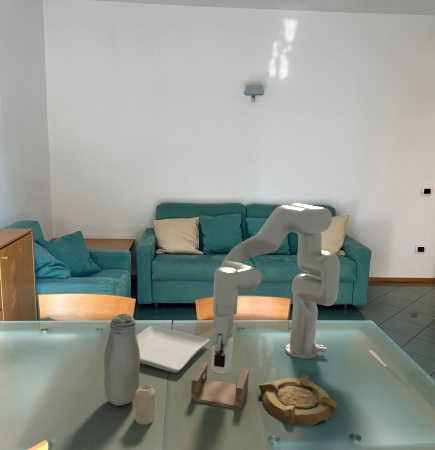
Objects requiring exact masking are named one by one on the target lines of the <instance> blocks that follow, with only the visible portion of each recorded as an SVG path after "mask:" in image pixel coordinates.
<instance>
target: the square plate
mask: <svg viewBox="0 0 435 450" xmlns="http://www.w3.org/2000/svg"><path fill="white" fill-rule="evenodd" d="M136 338H137V342H138V346H139V350H140V364H143V365H146V366H151V367H153V368H156V369H159V370H161V371H162V370H163V371H167V372H171V373H174V374H175V373H178V372H180V371H181V370H182V369H183V368H184V367H185V366H186V365H187V363H189V362H190V360H191V359H192V358H193V357H194V356H196V355H197V354H198V352H200V351H201V350H202V349H203V348H204V347H205V346H206V345H207V344H208V343H209V342H210V339H209V338H207V337H202V336H199V335H195V334H192V333H191V334H190V333H187V332H182V331H178V330H173V329H169V328H165V327H160V326H159V327H158V326H156V325H149V326H148V327H147V328H144V329H143V330H142V331H140V332H139V333H137V334H136Z"/></svg>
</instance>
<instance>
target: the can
mask: <svg viewBox="0 0 435 450" xmlns="http://www.w3.org/2000/svg"><path fill="white" fill-rule="evenodd" d="M221 345H224V343H221ZM233 346H234V337H233V333H232V334H231V336H230V337H229V341H228V345H227V346H226V347H225V352H224V355H225V366H224V367H217V366H214V357H215V348H216V343H215V345H212V344H211V347H212V348H211V359H210V360H211V361H210V362H211V363H210V370H211V371H212V372H213V373H214V374H217V375H226V374H229V373H230V372H231V371H232V365H233ZM221 349H223V347H221Z"/></svg>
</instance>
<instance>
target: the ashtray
mask: <svg viewBox="0 0 435 450" xmlns="http://www.w3.org/2000/svg"><path fill="white" fill-rule="evenodd" d="M309 377H310V376H309V375H308V374H306V373H302V374H301V377H300V378H295V377H286V378H280V379H277V380H275V381H273V382H267V383H261V384H259V385H258V388H259V390H260V391H259V392H260V395H259V396H260V397H261V399H262V404H263V407H264V408H265V410H266V411H267V412H268V413H269V414H270V415H271V416H272V417H274V418H276V419H278V420H279V421H281V422H285V423H288V424H290V425H299V426H308V427H309V426H310V427H311V426H313V425H317V424H318V423H320V422H321V421H325V422H328V420H329V419H331V418H332V417H333V416H334V410H335V409H336V408H337V407H338V401H335V400H334V399H332V398H330V396H329V394H328V393H327V392H326V391H325V390H324V389H323V387H321V386H319V385H317V384H315V383H314V382H312V381H310V380H309V379H310V378H309Z"/></svg>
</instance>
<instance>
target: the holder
mask: <svg viewBox="0 0 435 450" xmlns="http://www.w3.org/2000/svg"><path fill="white" fill-rule="evenodd" d="M208 364H209V363H208V362H204V361H201V363H200V364H199V366H198V368H197V369H196V372H195V373H194V376H192V378H191V386H190V388H191V389H190V390H191V393H190V401H192V402H197V403H202V404H209V405H212V406H213V405H214V406H218V407H224V408H229V409H230V408H231V409H234V410H242V408H243V406H244V402H245V399H246V396H247V393H248V389H249V375H250V369H247V368H242V370H241V372H240V375H239V378H238V379H237V381H236V383H230V382H225V381H221V380H212V379H209V378H208Z"/></svg>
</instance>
